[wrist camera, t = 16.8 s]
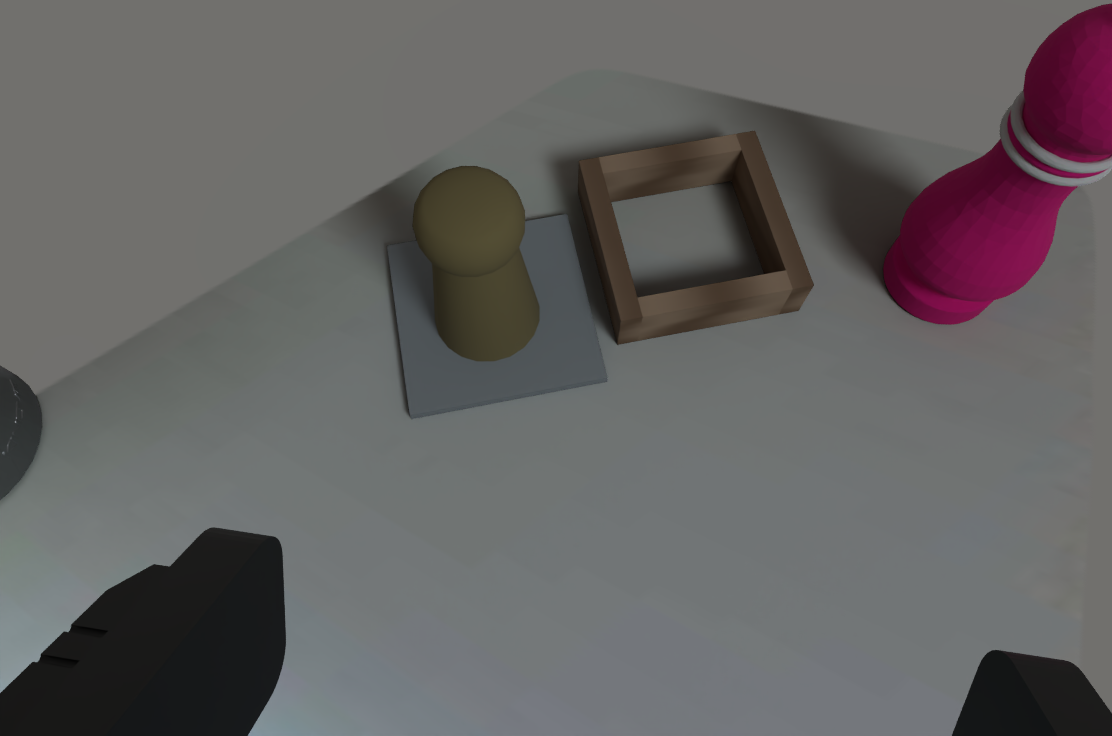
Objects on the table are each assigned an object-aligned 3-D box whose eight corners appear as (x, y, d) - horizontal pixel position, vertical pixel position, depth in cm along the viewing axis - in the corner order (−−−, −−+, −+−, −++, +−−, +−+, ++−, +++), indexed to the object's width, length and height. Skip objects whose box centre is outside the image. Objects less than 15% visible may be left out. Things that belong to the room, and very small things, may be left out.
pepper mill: (1017, 263, 46) (1316, -27, 28) (971, 355, 44) (1264, 105, 25) (903, 207, 48) (1116, -101, 29) (853, 294, 45) (1049, 17, 27)
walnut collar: (617, 344, 44) (620, 320, 42) (577, 191, 48) (578, 160, 46) (798, 310, 45) (813, 285, 42) (744, 162, 49) (755, 130, 46)
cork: (418, 293, 45) (376, 175, 35) (512, 252, 46) (497, 126, 36) (461, 379, 43) (429, 279, 33) (558, 334, 44) (556, 223, 34)
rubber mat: (411, 418, 43) (409, 415, 42) (389, 250, 47) (386, 245, 46) (606, 381, 43) (607, 377, 43) (566, 219, 48) (567, 213, 47)
